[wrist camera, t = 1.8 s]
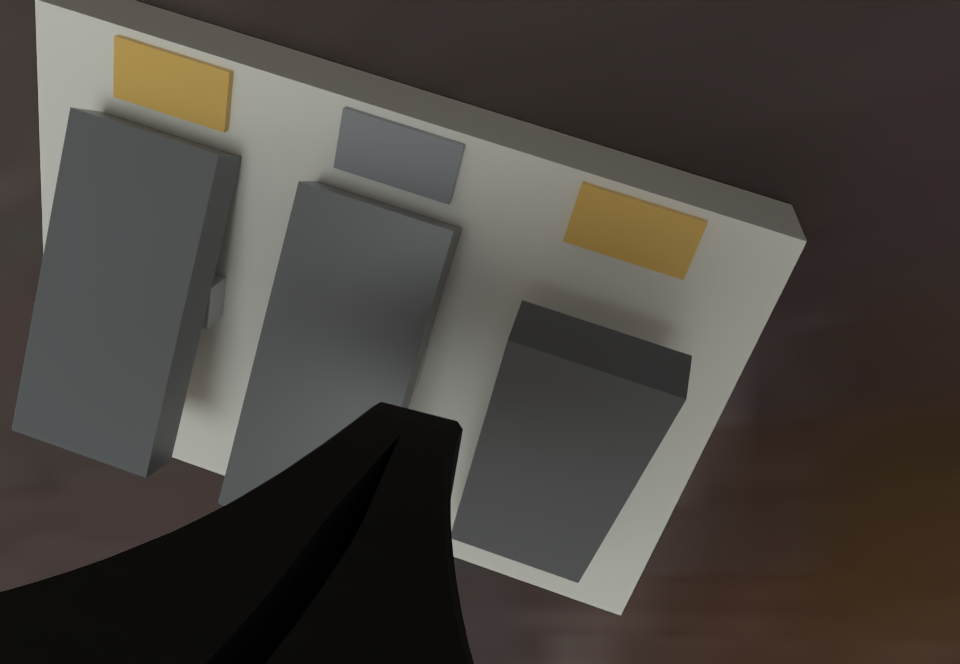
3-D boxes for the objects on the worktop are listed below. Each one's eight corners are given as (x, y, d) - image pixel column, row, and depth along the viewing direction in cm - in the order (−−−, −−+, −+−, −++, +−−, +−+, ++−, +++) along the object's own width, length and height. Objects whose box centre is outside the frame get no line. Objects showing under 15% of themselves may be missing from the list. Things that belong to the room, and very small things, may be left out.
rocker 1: (241, 156, 19) (218, 155, 18) (170, 460, 20) (145, 478, 19) (102, 111, 19) (70, 107, 18) (43, 416, 21) (11, 429, 20)
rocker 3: (692, 355, 16) (686, 399, 15) (586, 544, 22) (578, 583, 21) (522, 299, 16) (507, 339, 15) (462, 501, 22) (449, 537, 21)
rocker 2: (462, 228, 18) (454, 231, 17) (371, 531, 20) (357, 553, 19) (317, 181, 19) (298, 181, 17) (239, 485, 20) (218, 503, 19)
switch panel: (791, 204, 19) (812, 255, 16) (625, 555, 25) (619, 637, 22) (103, -10, 20) (9, 2, 17) (100, 372, 26) (30, 428, 23)
